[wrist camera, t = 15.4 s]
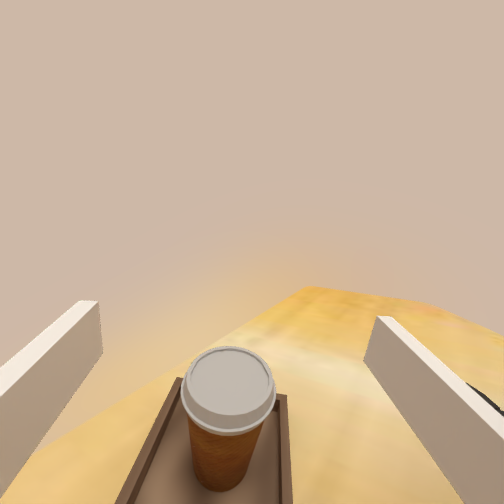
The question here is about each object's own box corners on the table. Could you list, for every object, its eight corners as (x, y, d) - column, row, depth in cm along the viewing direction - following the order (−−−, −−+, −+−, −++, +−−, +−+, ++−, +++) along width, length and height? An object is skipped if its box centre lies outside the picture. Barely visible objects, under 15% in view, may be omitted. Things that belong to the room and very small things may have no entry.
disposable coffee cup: (163, 449, 28) (164, 365, 25) (230, 406, 34) (239, 333, 31) (206, 542, 21) (216, 445, 18) (280, 468, 28) (297, 385, 24)
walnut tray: (283, 411, 35) (286, 395, 35) (290, 587, 20) (296, 566, 19) (176, 393, 36) (176, 377, 35) (104, 549, 21) (102, 527, 20)
